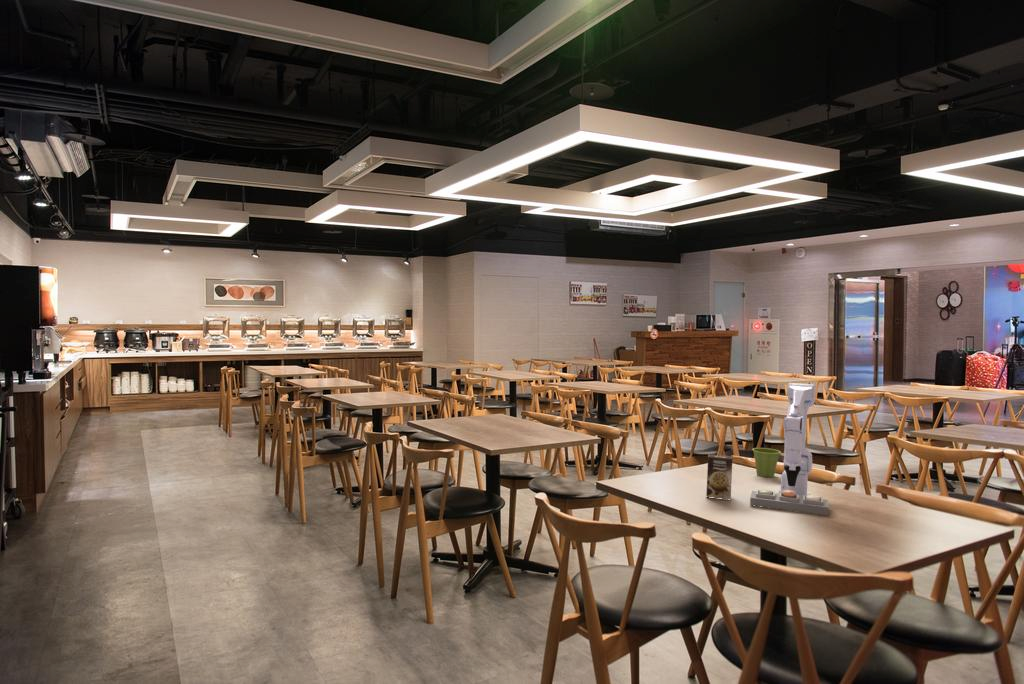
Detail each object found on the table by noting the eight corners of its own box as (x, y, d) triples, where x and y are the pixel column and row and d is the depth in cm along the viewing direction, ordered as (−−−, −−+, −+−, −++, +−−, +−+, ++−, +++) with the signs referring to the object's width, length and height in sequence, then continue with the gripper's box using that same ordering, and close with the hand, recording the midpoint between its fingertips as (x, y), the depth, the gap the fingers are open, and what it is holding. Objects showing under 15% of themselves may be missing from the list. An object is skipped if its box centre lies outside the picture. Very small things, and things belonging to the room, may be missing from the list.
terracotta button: (782, 496, 233) (782, 492, 233) (782, 493, 237) (782, 489, 237) (795, 497, 231) (795, 493, 231) (795, 494, 235) (795, 490, 235)
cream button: (806, 501, 230) (806, 497, 230) (806, 498, 234) (806, 494, 234) (819, 503, 228) (819, 499, 228) (819, 500, 232) (819, 496, 232)
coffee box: (706, 498, 244) (707, 456, 243) (706, 494, 250) (707, 453, 249) (731, 501, 241) (732, 458, 240) (731, 496, 247) (732, 455, 246)
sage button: (758, 495, 237) (759, 491, 237) (759, 493, 241) (759, 489, 241) (771, 497, 235) (771, 493, 235) (772, 494, 239) (772, 490, 239)
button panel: (750, 505, 235) (750, 494, 235) (751, 498, 245) (752, 487, 245) (828, 515, 224) (829, 504, 224) (827, 507, 234) (827, 496, 234)
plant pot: (777, 480, 274) (778, 454, 274) (749, 476, 281) (749, 450, 280) (782, 474, 285) (783, 449, 284) (754, 471, 291) (755, 446, 290)
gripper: (805, 453, 225) (804, 491, 226) (804, 446, 238) (803, 482, 239) (783, 451, 228) (782, 489, 228) (783, 444, 241) (782, 480, 242)
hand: (791, 485), depth 234 cm, fingers closed
